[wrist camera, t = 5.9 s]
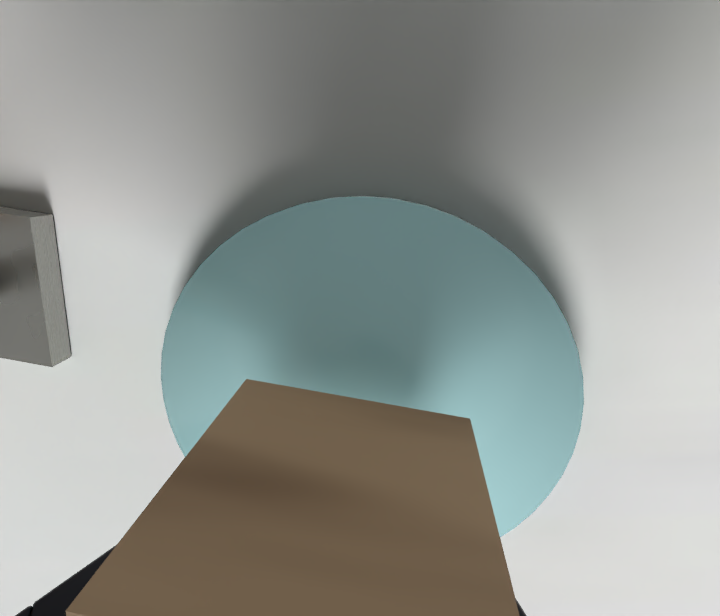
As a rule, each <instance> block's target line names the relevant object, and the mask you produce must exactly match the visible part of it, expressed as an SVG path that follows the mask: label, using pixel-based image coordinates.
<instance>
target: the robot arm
mask: <svg viewBox="0 0 720 616" xmlns="http://www.w3.org/2000/svg"><path fill="white" fill-rule="evenodd" d="M116 546H117V545H116ZM116 546H114V547H113V548H111V549H110V550H109V551H107V552H106V553H104V554H103V555H101V556H100V557H99V558H97V559H96V560H94V561H93V562H91V563H90V564H89V565H87V566H86V567H84V568H83V569H81V570H80V571H79V572H77V573H76V574H74V575H73V576H71V577H70V578H69V579H67V580H66V581H64V582H63V583H61V584H60V585H59V586H57V587H56V588H54V589H53V590H51V591H50V592H49V593H47V594H46V595H44V596H43V597H42V598H40V599H39V600H37V601H36V602H35V603H34V604H33V607H32V606H29V607H27V608H26V609H24V610H23V611H21V612H20V613H18V614H17V615H16V616H66V610H67V608H68V607H69V606H70V605H71V603H72V602H73V601H74V599H75V598H76V597H77V596H78V594H79V593H80V592H81V590H82V589H83V588H84V587H85V585H86V584H87V583H88V581H89V580H90V579H91V578H92V576H93V575H94V574H95V572H96V571H97V570H98V569H99V567H100V566H101V565H102V563H103V562H104V561H105V560H106V558H107V557H108V556H109V555H110V553H111V552H112V551H113V549H114V548H115V547H116ZM515 600H516V598H515ZM516 604H517V608H518V612H519V616H526V614H525V613H524V611H523V609H522V608H521V606H520V605H519V603H518V602H517V600H516Z"/></svg>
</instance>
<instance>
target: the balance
mask: <svg viewBox="0 0 720 616" xmlns="http://www.w3.org/2000/svg"><path fill="white" fill-rule="evenodd" d="M70 357H71V351H70V344H69V336H68V328H67V321H66V313H65V305H64V298H63V290H62V282H61V275H60V267H59V260H58V252H57V244H56V237H55V229H54V221H53V215H52V214H45V213H39V212H33V211H26V210H20V209H13V208H7V207H1V206H0V358H6V359H11V360H17V361H22V362H27V363H33V364H38V365H44V366H49V367H53V366H55V365H57V364H59V363H61V362H62V361H64V360H66V359H68V358H70Z"/></svg>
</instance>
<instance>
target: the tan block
mask: <svg viewBox="0 0 720 616" xmlns="http://www.w3.org/2000/svg"><path fill="white" fill-rule="evenodd" d="M66 616H519V612H518V608H517V604H516V600H515V596H514V592H513V588H512V584H511V580H510V576H509V572H508V568H507V564H506V560H505V556H504V552H503V548H502V544H501V540H500V536H499V532H498V528H497V524H496V520H495V516H494V512H493V508H492V504H491V500H490V496H489V492H488V488H487V484H486V480H485V476H484V472H483V468H482V464H481V460H480V456H479V452H478V448H477V444H476V440H475V436H474V432H473V428H472V424H471V420H470V418H464V417H458V416H453V415H447V414H442V413H436V412H430V411H425V410H419V409H413V408H408V407H402V406H397V405H391V404H385V403H380V402H374V401H368V400H363V399H357V398H352V397H346V396H340V395H335V394H329V393H323V392H318V391H312V390H307V389H301V388H295V387H290V386H284V385H278V384H273V383H267V382H262V381H256V380H250V379H246V380H245V381H244V382H243V384H242V385H241V386H240V388H239V389H238V390H237V391H236V393H235V394H234V395H233V397H232V398H231V399H230V400H229V402H228V403H227V404H226V406H225V407H224V408H223V409H222V411H221V412H220V413H219V415H218V416H217V417H216V418H215V420H214V421H213V422H212V424H211V425H210V426H209V427H208V429H207V430H206V431H205V433H204V434H203V435H202V436H201V438H200V439H199V440H198V442H197V443H196V444H195V445H194V447H193V448H192V449H191V451H190V452H189V453H188V454H187V456H186V457H185V458H184V460H183V461H182V462H181V463H180V465H179V466H178V467H177V468H176V470H175V471H174V472H173V474H172V475H171V476H170V477H169V479H168V480H167V481H166V483H165V484H164V485H163V486H162V488H161V489H160V490H159V492H158V493H157V494H156V495H155V497H154V498H153V499H152V501H151V502H150V503H149V504H148V506H147V507H146V508H145V510H144V511H143V512H142V513H141V515H140V516H139V517H138V519H137V520H136V521H135V522H134V524H133V525H132V526H131V528H130V529H129V530H128V531H127V533H126V534H125V535H124V537H123V538H122V539H121V540H120V542H119V543H118V544H117V546H116V547H115V548H114V549H113V551H112V552H111V553H110V555H109V556H108V557H107V558H106V560H105V561H104V562H103V563H102V565H101V566H100V567H99V569H98V570H97V571H96V572H95V574H94V575H93V576H92V578H91V579H90V580H89V581H88V583H87V584H86V585H85V587H84V588H83V589H82V590H81V592H80V593H79V594H78V596H77V597H76V598H75V599H74V601H73V602H72V603H71V605H70V606H69V607H68V608H67V610H66Z"/></svg>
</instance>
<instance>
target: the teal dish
mask: <svg viewBox="0 0 720 616" xmlns="http://www.w3.org/2000/svg"><path fill="white" fill-rule="evenodd" d="M246 379H250V380H256V381H262V382H267V383H273V384H278V385H284V386H290V387H295V388H301V389H307V390H312V391H318V392H323V393H329V394H335V395H340V396H346V397H352V398H357V399H363V400H368V401H374V402H380V403H385V404H391V405H397V406H402V407H408V408H413V409H419V410H425V411H430V412H436V413H442V414H447V415H453V416H458V417H464V418H470V420H471V424H472V428H473V432H474V436H475V440H476V444H477V448H478V452H479V456H480V460H481V464H482V468H483V472H484V476H485V480H486V484H487V488H488V492H489V496H490V500H491V504H492V508H493V512H494V516H495V520H496V524H497V528H498V532H499V536H500V537H501V536H503V535H504V534H506V533H507V532H509V531H511V530H512V529H514V528H515V527H516V526H518V525H519V524H520V523H521V522H522V521H523V520H525V519H526V518H527V517H528V516H529V515H530V514H532V513H533V512H534V511H535V510H536V509H537V507H538V506H539V505H540V504H541V503H542V502H543V501H544V500H545V499H546V497H547V496H548V495H549V494H550V493H551V491H552V490H553V488H554V487H555V485H556V484H557V482H558V481H559V479H560V478H561V476H562V475H563V473H564V471H565V469H566V467H567V464H568V462H569V460H570V458H571V456H572V454H573V452H574V448H575V445H576V442H577V438H578V435H579V432H580V427H581V420H582V412H583V405H584V397H583V375H582V370H581V364H580V359H579V354H578V350H577V347H576V344H575V341H574V339H573V336H572V333H571V330H570V328H569V325H568V323H567V321H566V319H565V317H564V316H563V314H562V312H561V310H560V308H559V306H558V305H557V303H556V301H555V299H554V298H553V296H552V295H551V294H550V293H549V291H548V290H547V289H546V287H545V286H544V285H543V283H542V282H541V281H540V280H539V278H538V277H537V276H536V274H535V273H534V272H533V271H532V270H531V269H529V268H528V267H527V266H526V265H525V264H524V263H523V262H522V261H521V260H520V259H519V258H518V257H517V256H516V255H515V254H514V253H513V252H512V251H510V250H509V249H508V248H507V247H505V246H504V245H502V244H501V243H500V242H498V241H497V240H495V239H494V238H493V237H491V236H490V235H488V234H487V233H486V232H484V231H483V230H481V229H479V228H477V227H476V226H474V225H472V224H470V223H468V222H466V221H464V220H462V219H460V218H458V217H457V216H455V215H452V214H449V213H446V212H444V211H441V210H438V209H435V208H433V207H430V206H427V205H424V204H419V203H415V202H410V201H405V200H401V199H396V198H386V197H373V196H350V197H333V198H327V199H323V200H318V201H313V202H308V203H303V204H299V205H296V206H294V207H291V208H288V209H285V210H282V211H279V212H277V213H274V214H271V215H268V216H266V217H264V218H262V219H260V220H259V221H257V222H255V223H253V224H251V225H249V226H247V227H245V228H243V229H242V230H240V231H239V232H238V233H236V234H235V235H234V236H232V237H231V238H229V239H228V240H227V241H225V242H224V243H223V244H221V245H220V246H219V247H218V248H217V249H216V250H215V251H214V252H213V253H212V254H211V255H210V256H209V257H208V258H207V259H206V260H205V261H204V262H203V263H202V264H201V265H200V266H199V267H198V269H197V270H196V271H195V273H194V274H193V276H192V277H191V278H190V280H189V281H188V282H187V284H186V285H185V287H184V289H183V291H182V293H181V295H180V296H179V298H178V300H177V302H176V304H175V306H174V308H173V311H172V314H171V317H170V320H169V323H168V326H167V329H166V333H165V338H164V344H163V350H162V362H161V381H162V390H163V398H164V403H165V407H166V411H167V415H168V419H169V423H170V425H171V428H172V430H173V433H174V435H175V438H176V440H177V443H178V445H179V447H180V448H181V450H182V452H183V454H184V456H185V457H186V456H187V454H188V453H189V452H190V451H191V449H192V448H193V447H194V445H195V444H196V443H197V442H198V440H199V439H200V438H201V436H202V435H203V434H204V433H205V431H206V430H207V429H208V427H209V426H210V425H211V424H212V422H213V421H214V420H215V418H216V417H217V416H218V415H219V413H220V412H221V411H222V409H223V408H224V407H225V406H226V404H227V403H228V402H229V400H230V399H231V398H232V397H233V395H234V394H235V393H236V391H237V390H238V389H239V388H240V386H241V385H242V384H243V382H244V381H245V380H246Z"/></svg>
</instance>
